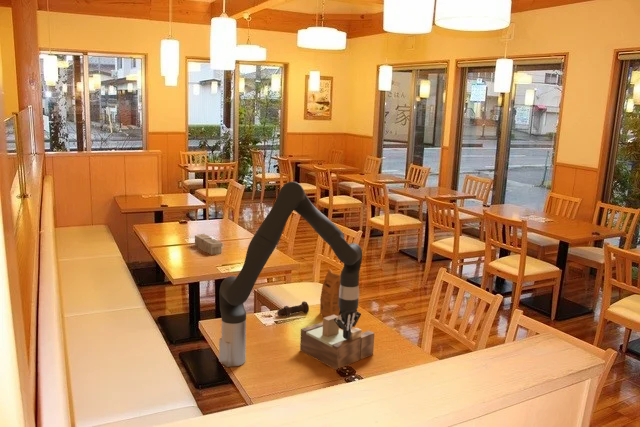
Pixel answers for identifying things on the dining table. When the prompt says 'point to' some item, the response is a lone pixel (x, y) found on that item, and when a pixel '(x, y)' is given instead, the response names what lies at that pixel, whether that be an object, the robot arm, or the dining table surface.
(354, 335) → the tan wooden block
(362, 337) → the wooden box frame
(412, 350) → the dining table surface
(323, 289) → the coffee package
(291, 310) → the bolt
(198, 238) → the block tower
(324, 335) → the lid
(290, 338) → the dining table surface
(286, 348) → the dining table surface
